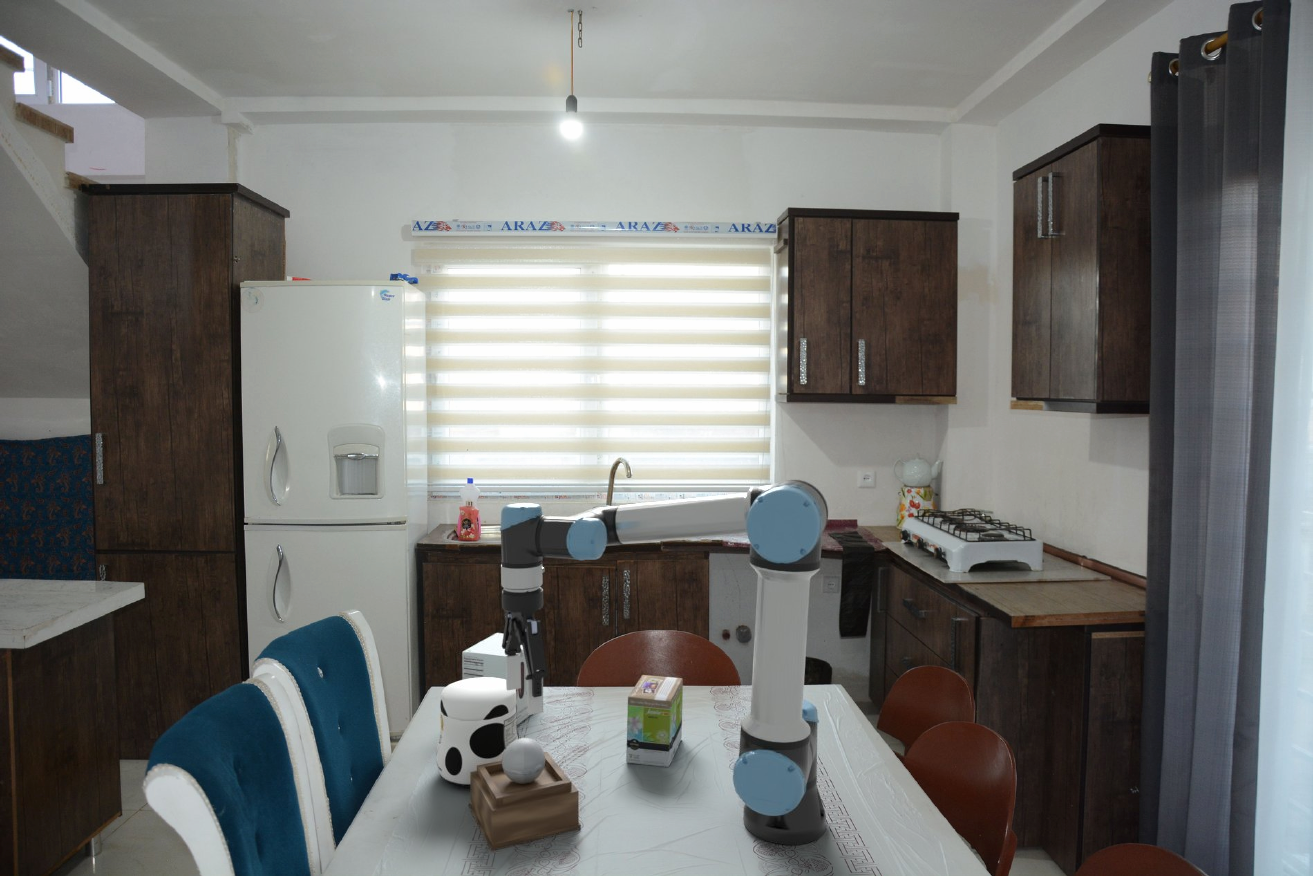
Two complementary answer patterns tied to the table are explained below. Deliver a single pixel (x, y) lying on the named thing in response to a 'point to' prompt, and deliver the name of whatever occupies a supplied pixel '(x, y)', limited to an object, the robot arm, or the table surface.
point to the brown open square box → (522, 805)
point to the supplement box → (495, 667)
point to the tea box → (654, 720)
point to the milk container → (475, 726)
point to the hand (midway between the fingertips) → (524, 700)
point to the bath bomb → (523, 760)
